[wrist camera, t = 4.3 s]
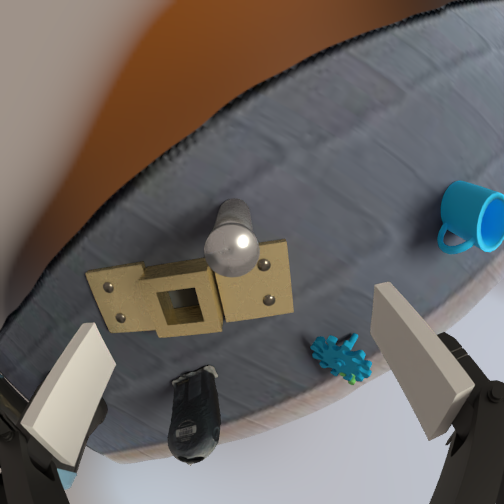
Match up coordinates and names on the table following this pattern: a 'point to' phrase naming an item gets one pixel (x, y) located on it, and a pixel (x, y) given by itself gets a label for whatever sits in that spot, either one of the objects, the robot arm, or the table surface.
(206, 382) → the electronic device
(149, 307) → the hinge leaves
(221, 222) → the hinge pin
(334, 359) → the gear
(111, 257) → the table surface
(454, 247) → the mug
